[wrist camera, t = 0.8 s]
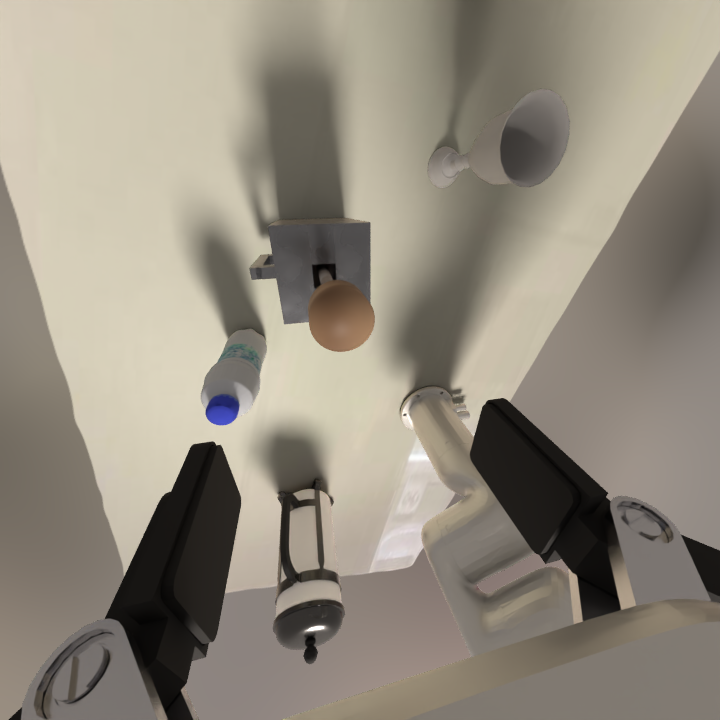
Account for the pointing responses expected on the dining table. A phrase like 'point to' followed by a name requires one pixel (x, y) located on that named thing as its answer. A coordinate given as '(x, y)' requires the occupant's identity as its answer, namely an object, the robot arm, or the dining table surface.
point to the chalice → (512, 145)
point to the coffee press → (307, 573)
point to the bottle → (234, 378)
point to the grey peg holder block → (313, 259)
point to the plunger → (338, 311)
